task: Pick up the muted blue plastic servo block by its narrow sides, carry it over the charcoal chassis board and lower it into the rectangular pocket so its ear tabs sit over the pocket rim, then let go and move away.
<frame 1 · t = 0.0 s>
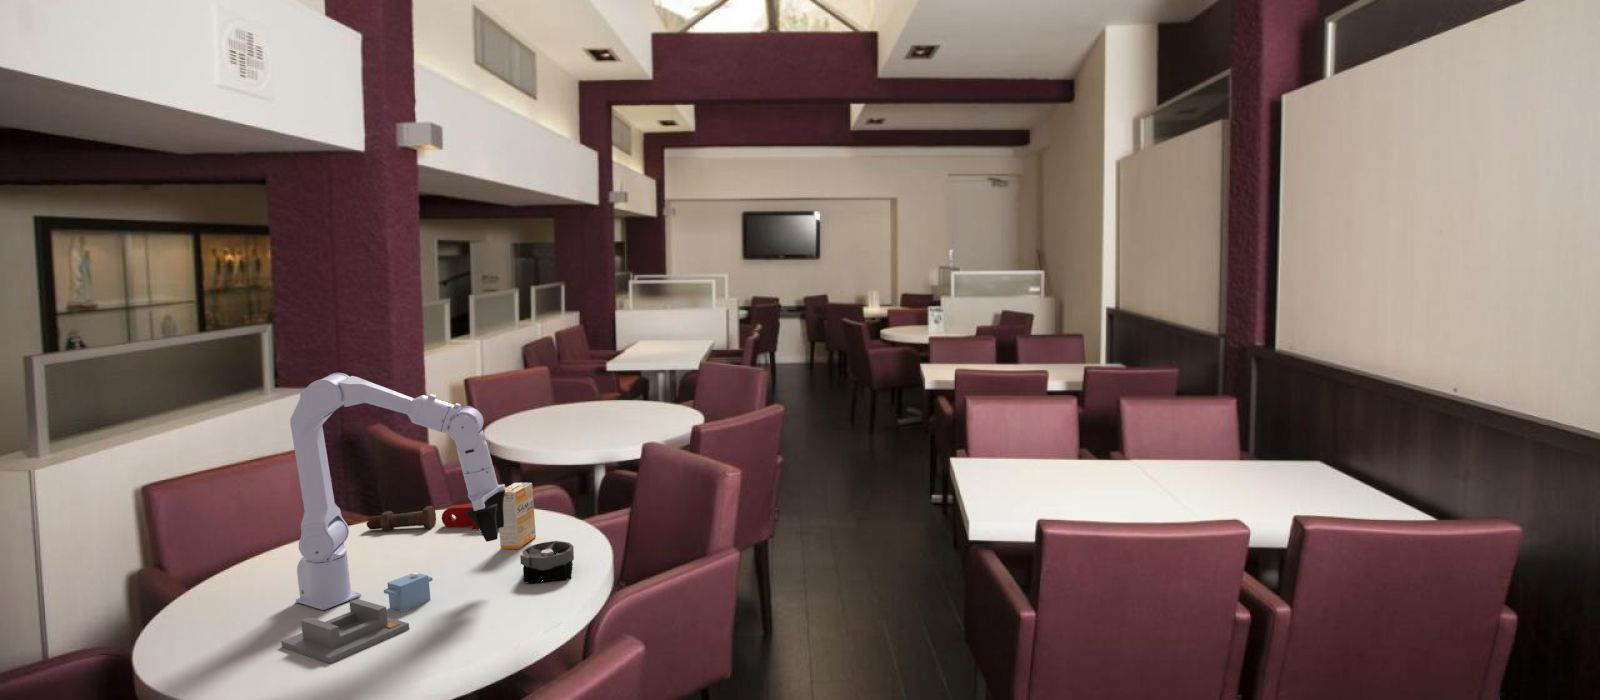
hand: (495, 533, 184), 11 cm above the table, fingers open, 7 cm apart
cpu cooler: (549, 576, 191), on the table
mechanical linkage: (477, 526, 225), on the table
bolt: (402, 530, 225), on the table
supplement box: (519, 544, 211), on the table
servo block: (410, 604, 178), on the table
chassis board: (346, 637, 164), on the table
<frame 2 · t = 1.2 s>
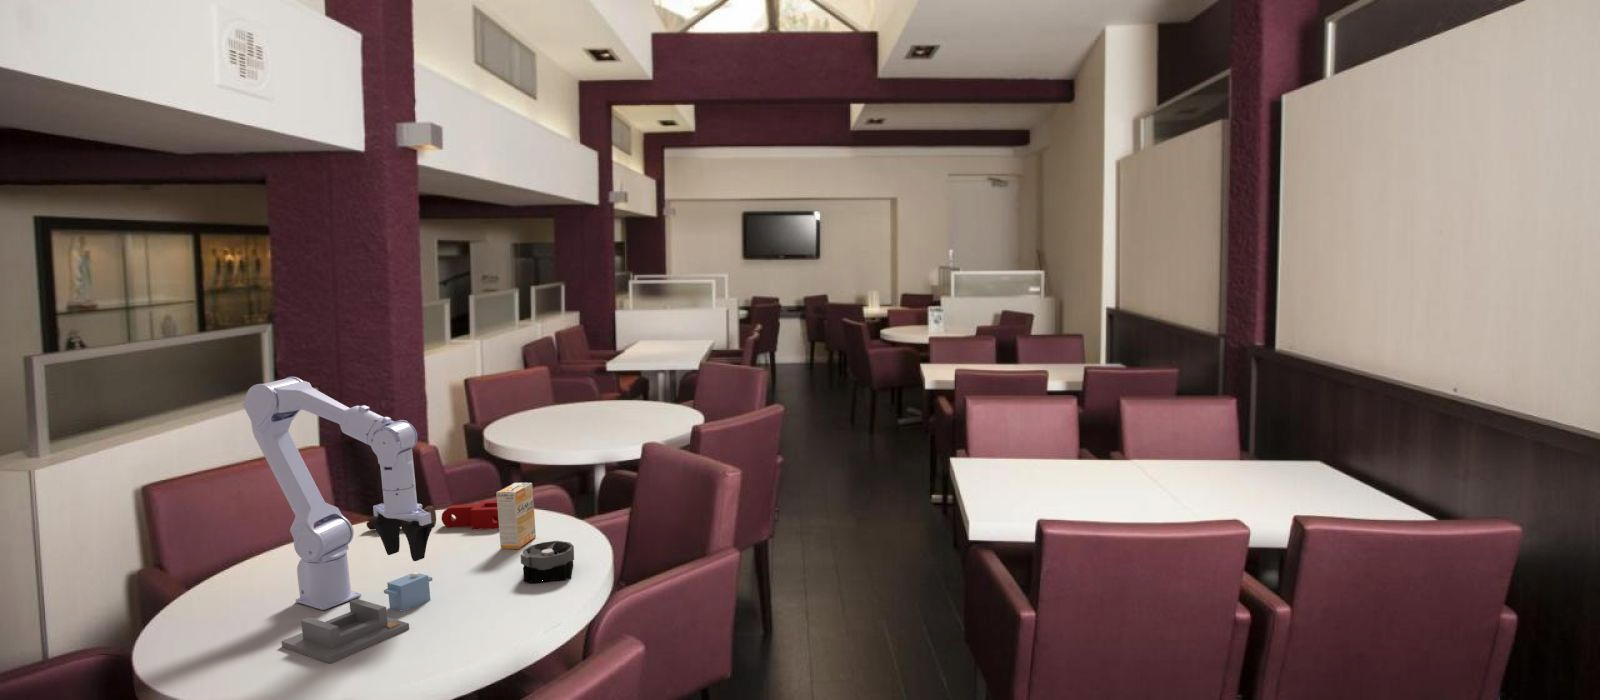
hand: (405, 556, 177), 9 cm above the table, fingers open, 7 cm apart
nothing on the table moved.
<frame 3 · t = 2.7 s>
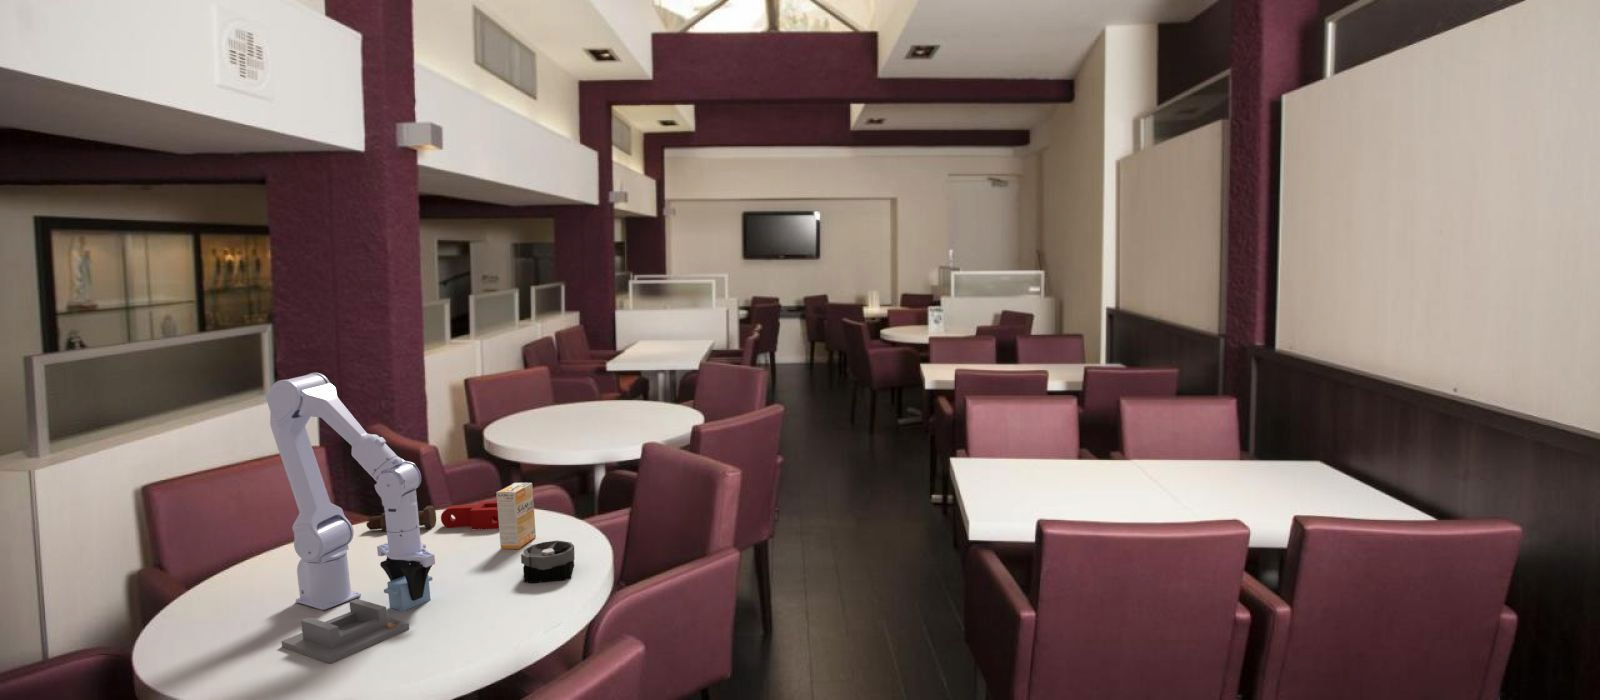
hand: (409, 596, 178), 1 cm above the table, fingers closed on servo block, 4 cm apart
servo block: (410, 603, 178), on the table, touching gripper
everything else where it was.
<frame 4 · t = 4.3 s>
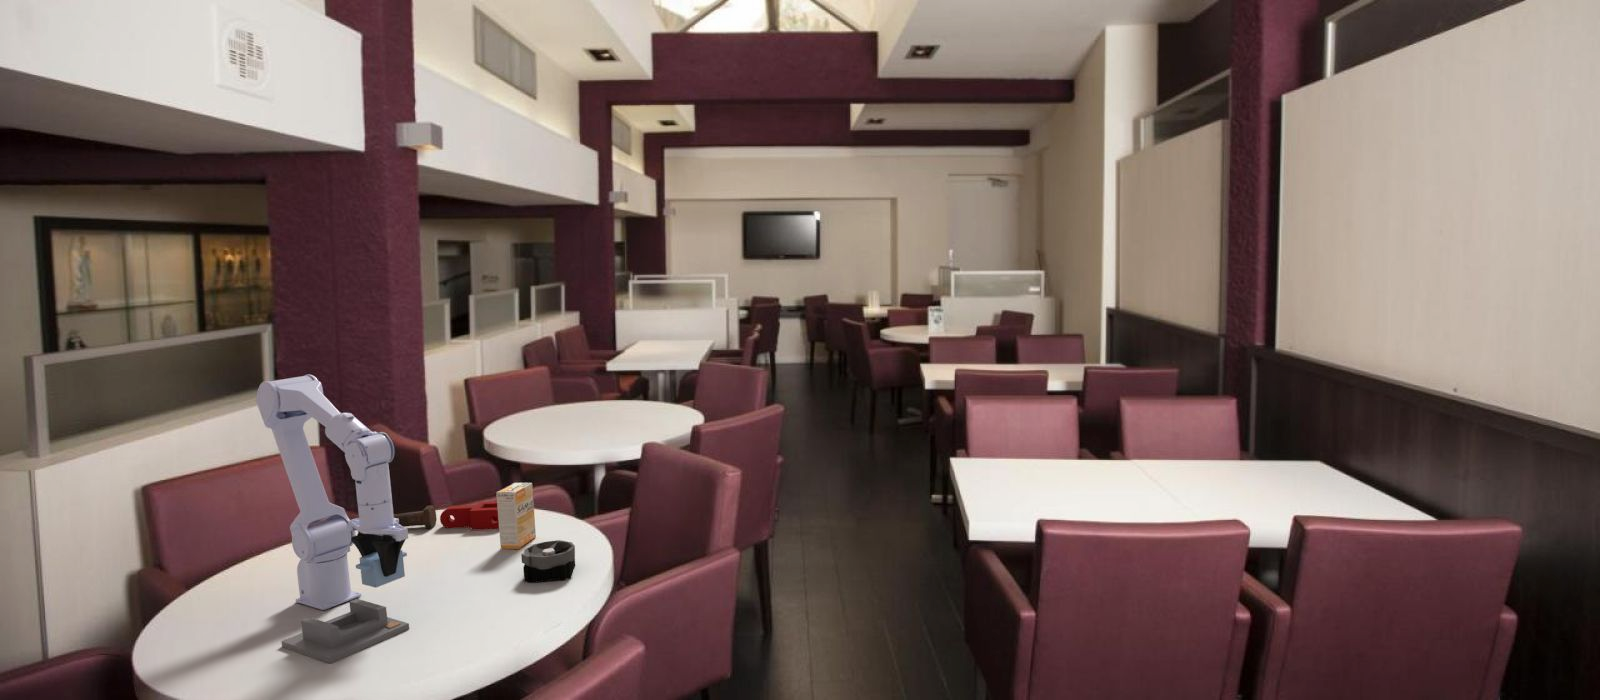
hand: (382, 572, 171), 8 cm above the table, fingers closed on servo block, 4 cm apart
servo block: (383, 580, 171), point 7 cm above the table, touching gripper
everything else where it was.
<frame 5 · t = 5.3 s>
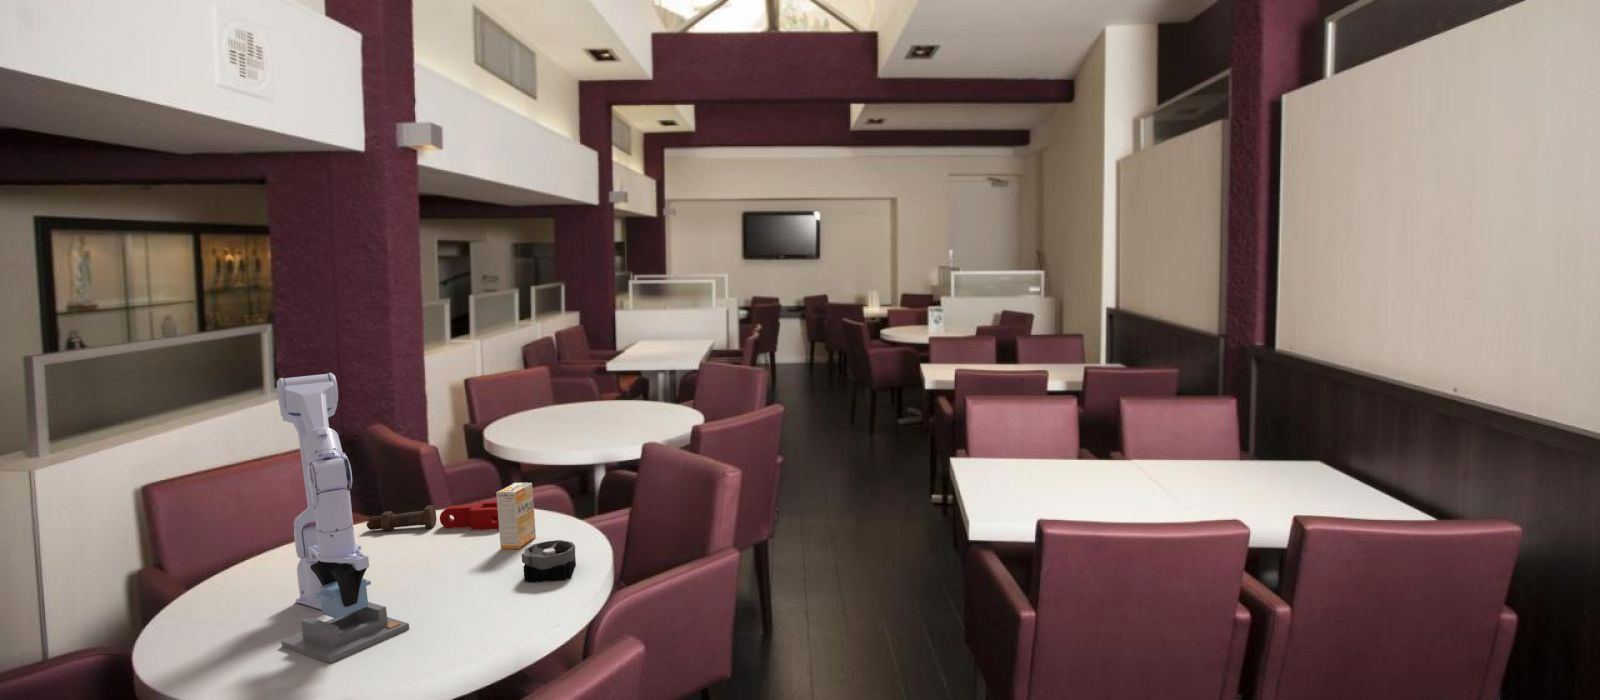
hand: (342, 602, 163), 6 cm above the table, fingers closed on servo block, 4 cm apart
servo block: (345, 610, 163), point 5 cm above the table, touching gripper
everything else where it was.
when the fingers open (3 cm above the table, at t = 6.2 s): servo block stays where it is, resting on chassis board.
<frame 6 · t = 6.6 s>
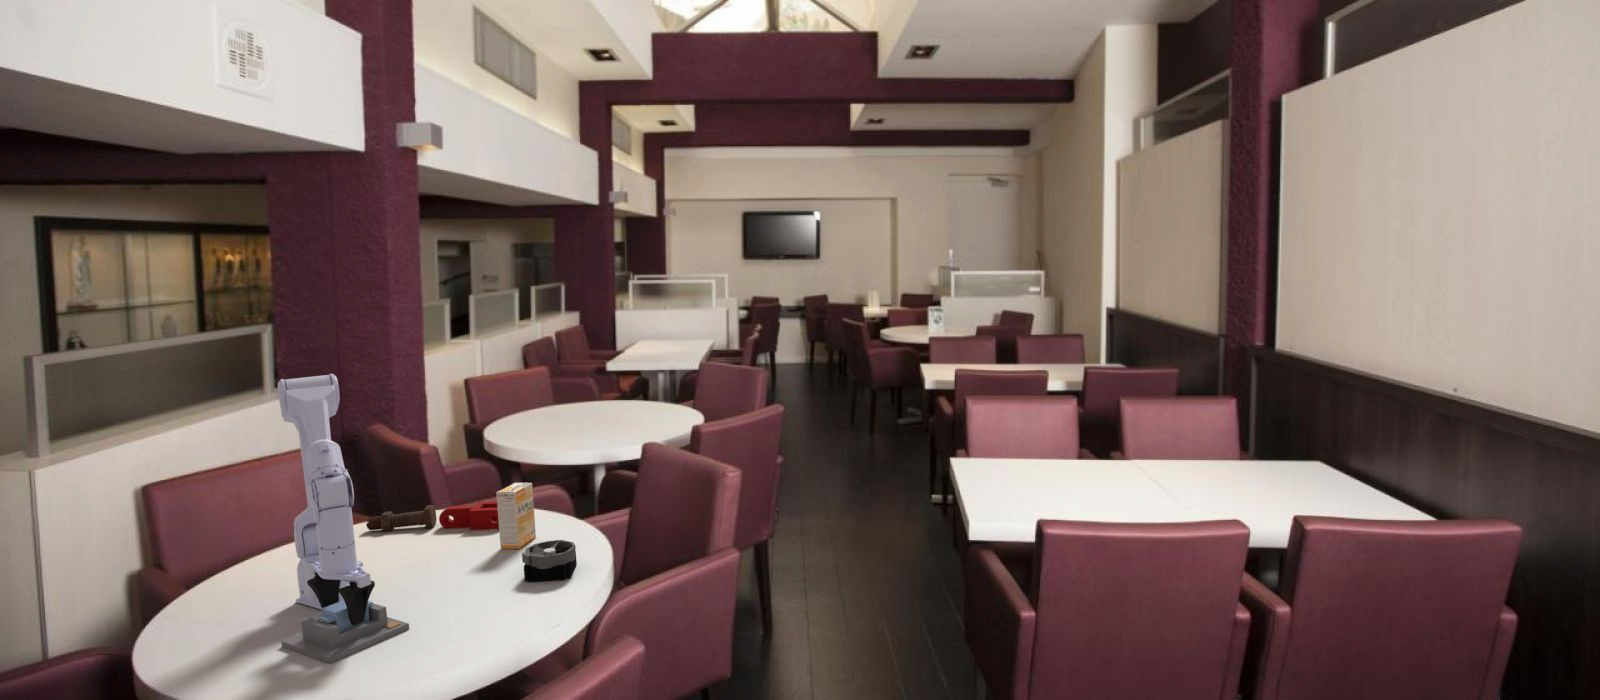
hand: (344, 619, 163), 3 cm above the table, fingers open, 7 cm apart
servo block: (347, 631, 164), point 1 cm above the table, touching chassis board
everything else where it was.
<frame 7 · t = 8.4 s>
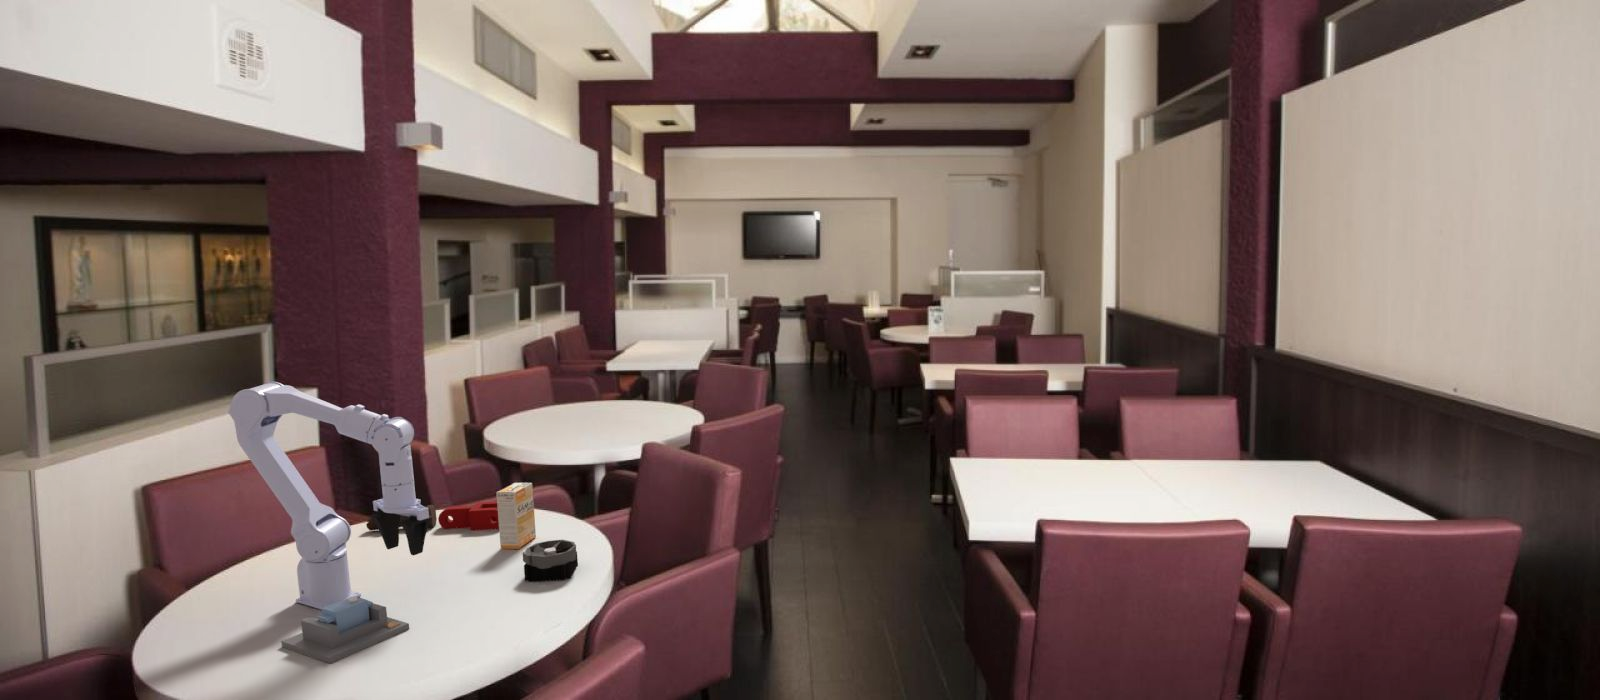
hand: (404, 550, 180), 9 cm above the table, fingers open, 7 cm apart
nothing on the table moved.
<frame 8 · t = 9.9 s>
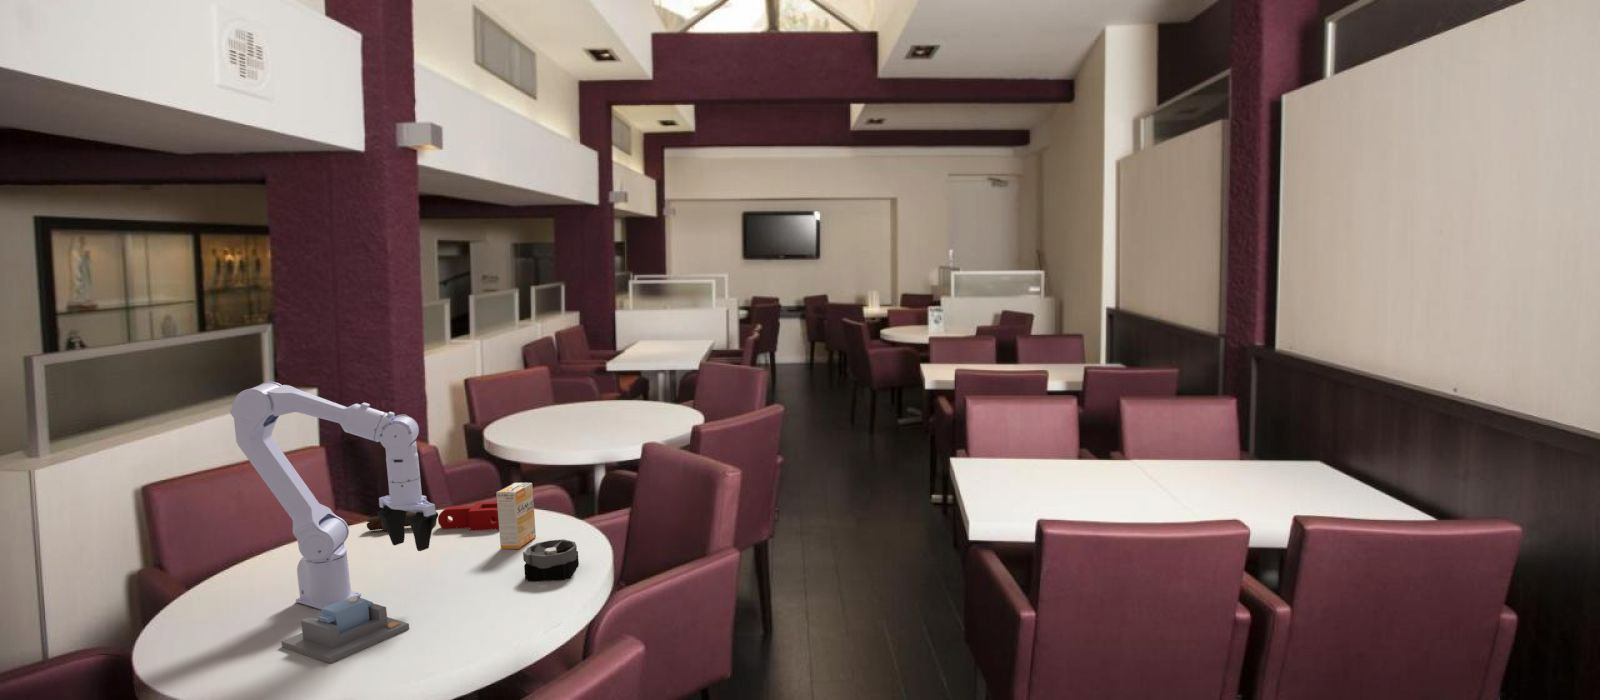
hand: (410, 546, 182), 9 cm above the table, fingers open, 7 cm apart
at the end: servo block 0.3 cm off-centre on the chassis board, point 1.0 cm above the chassis board's base; servo block tilted 0°; the gripper is holding nothing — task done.
